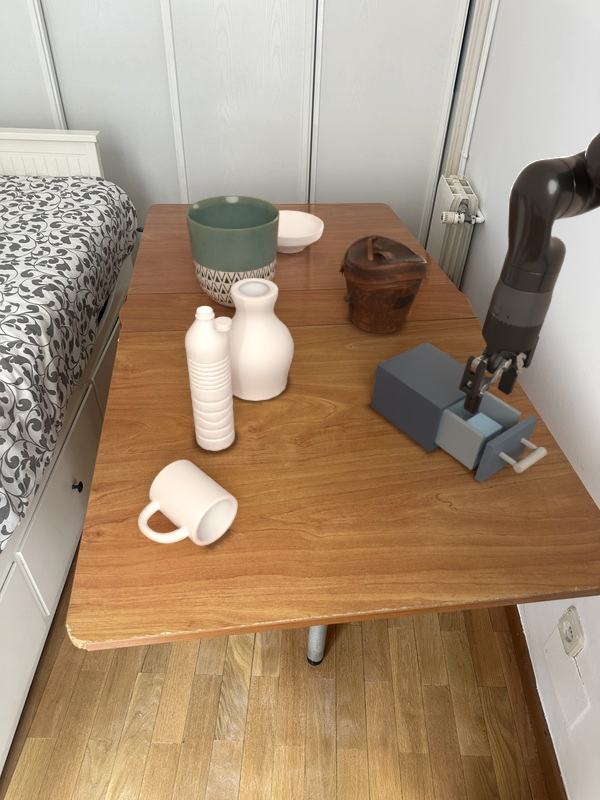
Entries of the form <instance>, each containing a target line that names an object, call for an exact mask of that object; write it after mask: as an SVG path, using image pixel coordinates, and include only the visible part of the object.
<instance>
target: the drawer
mask: <svg viewBox="0 0 600 800" xmlns="http://www.w3.org/2000/svg"><path fill="white" fill-rule="evenodd" d="M465 400H466V398H465V399H463V400H462V401H460V402H458V403H456V404H454V405H453V406H451V407H449V408H447V409H445V410H444V411H443V413H442V417H441V421H440V424H439V428H438V432H437V435H436V439H435V443H436V444H437V445H438V447H439V448H441V449H442V450H444V452H446V453H448V454H449V455H450V456H452V457H453V458H454V459H455V460H456V461H458V462H459V463H460V464H462V465H463V466H465V467H466V468H467V469H468V470H470V471H473V470H474V469H475V468H477V470H476V473H475V476H474V480H475V481H477V482H478V483H479V484H481V483H483V482H484V481H485V480H487V479H489V478H490V477H492V476H493V475H494V474H496V473H497V472H499V471H500V470H502V469H503V468H505V467H506V466H508V465H509V464H510V465H511V466H512V467H513V470H514V471H515V473H517V474H522V473H523V472H524V471H526V470H527V469H528V468H530V467H531V466H532V465H534V464H536V463H538V461H540V460H541V459H542V458H544V457H545V456H546V455H547V454H548V450H547V449H546V448H545V447H544V446H539V447H538V446H537V445H535V444H534V443H533V442H531V441H530V439H531V436H532V434H533V432H534V430H535V427H536V425H537V423H538V420H539V418H538V417H536V416H535V415H533V414H530V415H529V416H527V417H526V418H524V419H523V420H521V421H520V418H521V416H522V412H521V411H519V410H518V409H516V408H514V407H513V406H511V405H510V404H509V403H508V402H505V401H503V400H502V399H501V398H499V397H498V396H495V395H494V394H493V393H491V392H489V391H485V392H484V394H483V397H482V401H481V404H480V407H479V410H478V412H477V413H476V414H471V413H470V412H468V411H467V410H465V409H464V403H465ZM480 412H481V413H483V414H484V415H486V416H487V417H489V418H490V419H492V420H493V421H495V422H496V423H498V424H500V425H501V426H503V427H502V430H501V433H500V435H499V436H497V437H496V438H494V439H493V440H491V441H490V442H488V443H487V444H486V447H485V450H484V453H483V455H481V456H480V457H479V456H478V455H479V453H480V450H481V447H482V444H483V441H484V438H485V435H484V434H483V433H481V432H480V431H479V430H477V429H476V428H474V427H473V426H471V425H470V424H468V423H467V422H466V421H467V420H469V419H470V418H472V417H474V416H475V415H477V414H479V413H480ZM519 421H520V422H519ZM526 448H529V449H531V450H532V452H530V453H529V454H527V455H526V456H524V457H523V458H522V459H520V460H518V461H516V460H517V459H519V457H521V456H522V455H524V453H525V451H526Z"/></svg>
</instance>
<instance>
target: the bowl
mask: <svg viewBox="0 0 600 800" xmlns="http://www.w3.org/2000/svg"><path fill="white" fill-rule="evenodd" d="M279 213H280V216H279V231H278V246H277V253H283V254H295V253H300V252H302V251H303V250H305V248H307V247H308V246H310V245H311V244H313V243H315V242H316V241H319V240H320V239H321V237H322V235H323V233H324V227H325V224H324V222H323V220H322V219H320V218H319V217H318V216H316V215H314V214H311V213H308V212H305V211H299V210H289V209H288V210H285V209H284V210H279Z"/></svg>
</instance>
